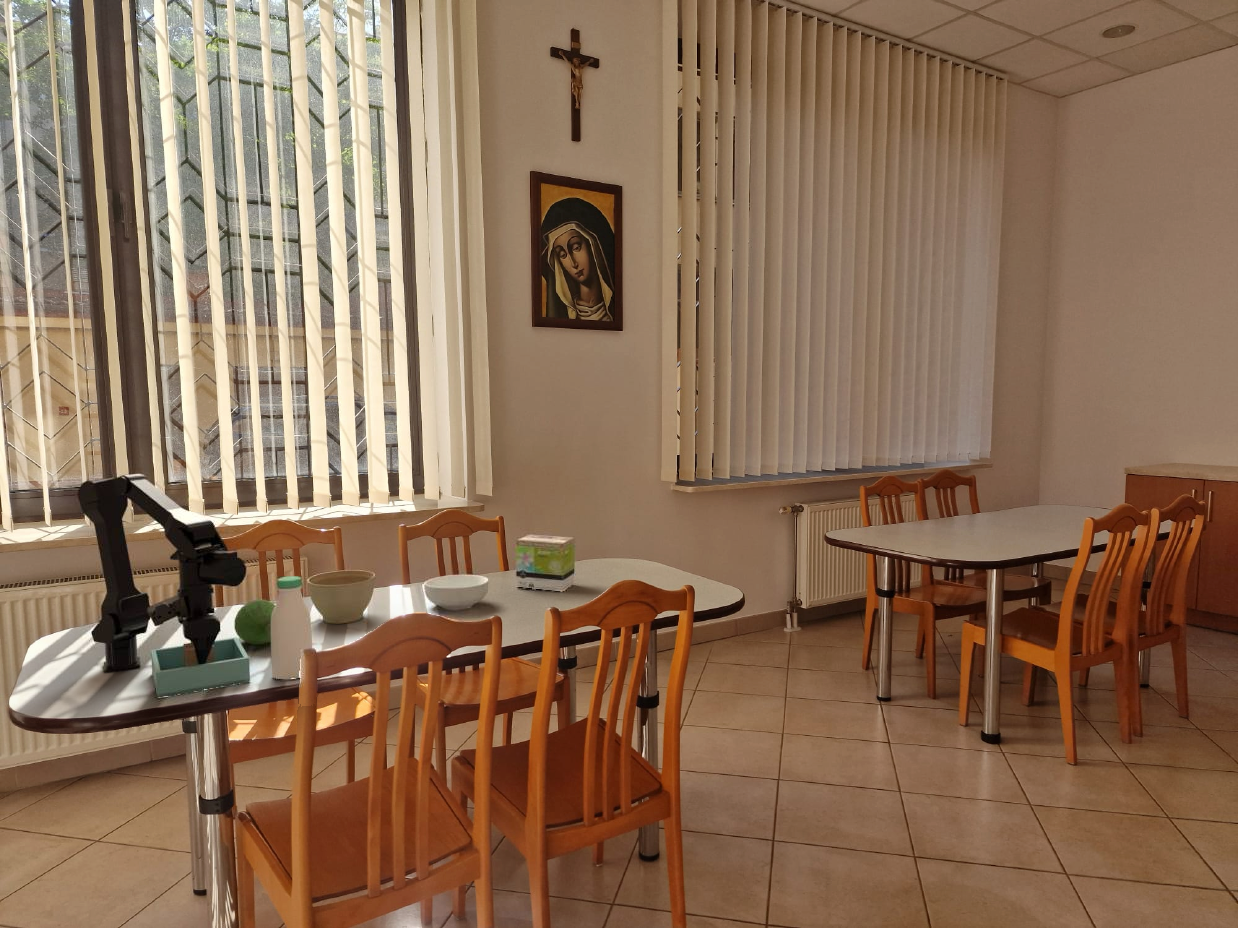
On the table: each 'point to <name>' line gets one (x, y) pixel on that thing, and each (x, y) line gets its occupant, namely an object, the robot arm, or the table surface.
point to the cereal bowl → (456, 590)
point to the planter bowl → (341, 594)
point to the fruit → (255, 622)
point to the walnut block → (194, 655)
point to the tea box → (545, 562)
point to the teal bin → (199, 669)
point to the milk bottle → (289, 629)
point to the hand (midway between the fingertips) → (199, 658)
